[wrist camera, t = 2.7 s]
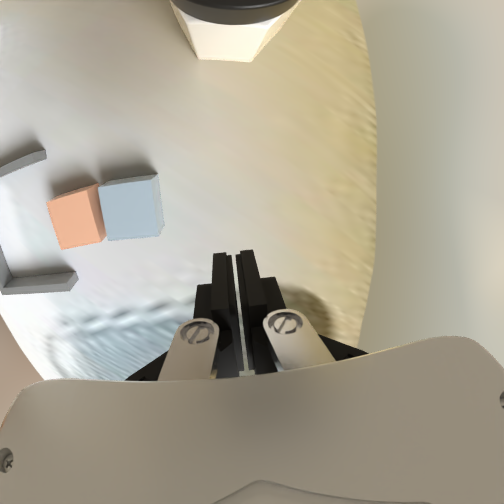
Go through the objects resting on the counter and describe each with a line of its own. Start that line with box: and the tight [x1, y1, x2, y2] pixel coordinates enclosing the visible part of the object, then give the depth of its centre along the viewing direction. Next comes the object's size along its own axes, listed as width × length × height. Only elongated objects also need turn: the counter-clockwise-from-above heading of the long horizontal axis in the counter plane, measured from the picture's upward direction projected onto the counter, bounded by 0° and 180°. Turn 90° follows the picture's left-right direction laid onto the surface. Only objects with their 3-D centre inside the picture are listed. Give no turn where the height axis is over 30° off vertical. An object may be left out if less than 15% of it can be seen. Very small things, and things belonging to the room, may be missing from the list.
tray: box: [0, 150, 78, 295], centre depth 22 cm, size 15×13×2 cm
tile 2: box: [46, 183, 107, 250], centre depth 22 cm, size 5×5×3 cm
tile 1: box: [98, 174, 164, 241], centre depth 23 cm, size 5×5×3 cm
